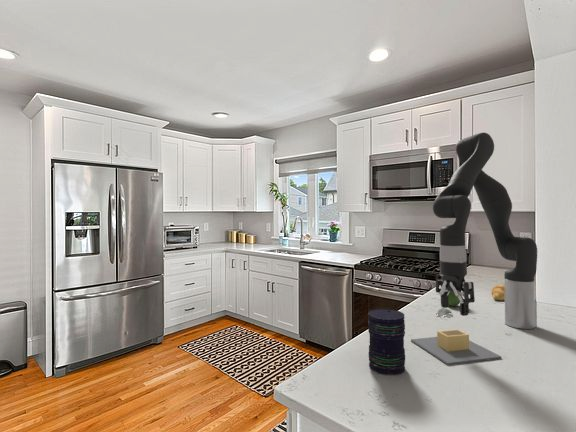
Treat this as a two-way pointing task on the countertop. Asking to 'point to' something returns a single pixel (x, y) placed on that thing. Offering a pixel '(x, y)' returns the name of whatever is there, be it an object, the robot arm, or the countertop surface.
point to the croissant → (498, 292)
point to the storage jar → (386, 341)
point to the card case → (453, 340)
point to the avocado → (453, 299)
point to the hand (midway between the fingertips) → (454, 311)
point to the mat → (455, 352)
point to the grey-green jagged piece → (444, 313)
